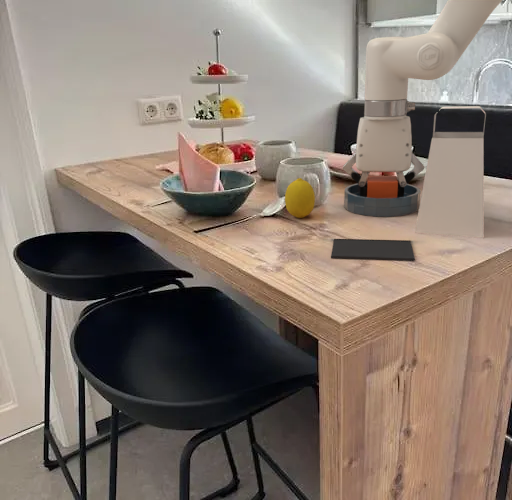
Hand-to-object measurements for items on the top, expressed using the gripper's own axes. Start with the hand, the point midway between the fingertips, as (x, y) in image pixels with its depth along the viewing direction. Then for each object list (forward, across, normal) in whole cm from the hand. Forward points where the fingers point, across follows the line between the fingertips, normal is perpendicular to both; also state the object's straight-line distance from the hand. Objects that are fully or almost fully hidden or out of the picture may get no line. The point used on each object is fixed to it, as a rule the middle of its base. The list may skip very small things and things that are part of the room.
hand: (381, 204), depth 98 cm
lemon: (+1, +15, +8) cm, 17 cm away
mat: (+1, +2, +23) cm, 23 cm away
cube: (0, 0, 0) cm, 0 cm away
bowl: (+1, 0, 0) cm, 1 cm away
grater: (+1, -11, +12) cm, 16 cm away
